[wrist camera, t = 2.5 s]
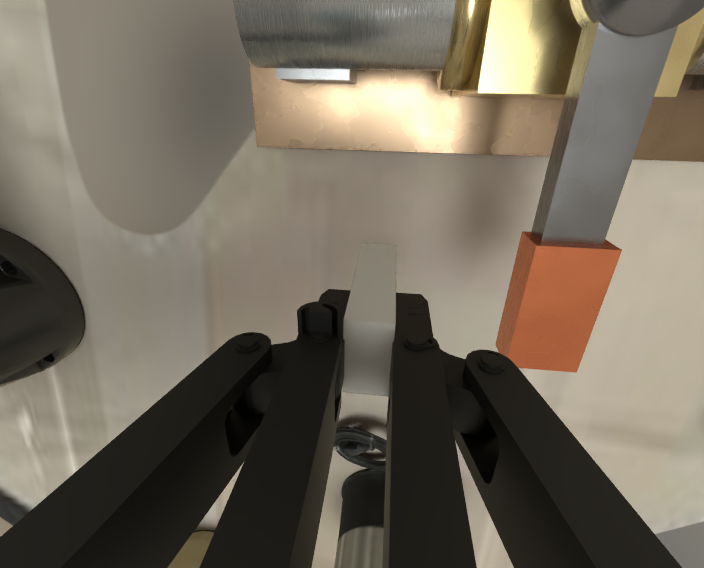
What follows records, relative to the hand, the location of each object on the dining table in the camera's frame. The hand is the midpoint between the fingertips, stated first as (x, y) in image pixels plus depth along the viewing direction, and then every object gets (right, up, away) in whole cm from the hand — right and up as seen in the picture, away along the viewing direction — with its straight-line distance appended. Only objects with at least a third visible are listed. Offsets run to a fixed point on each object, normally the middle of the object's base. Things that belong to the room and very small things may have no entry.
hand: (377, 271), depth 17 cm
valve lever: (+8, +4, -2) cm, 9 cm away
